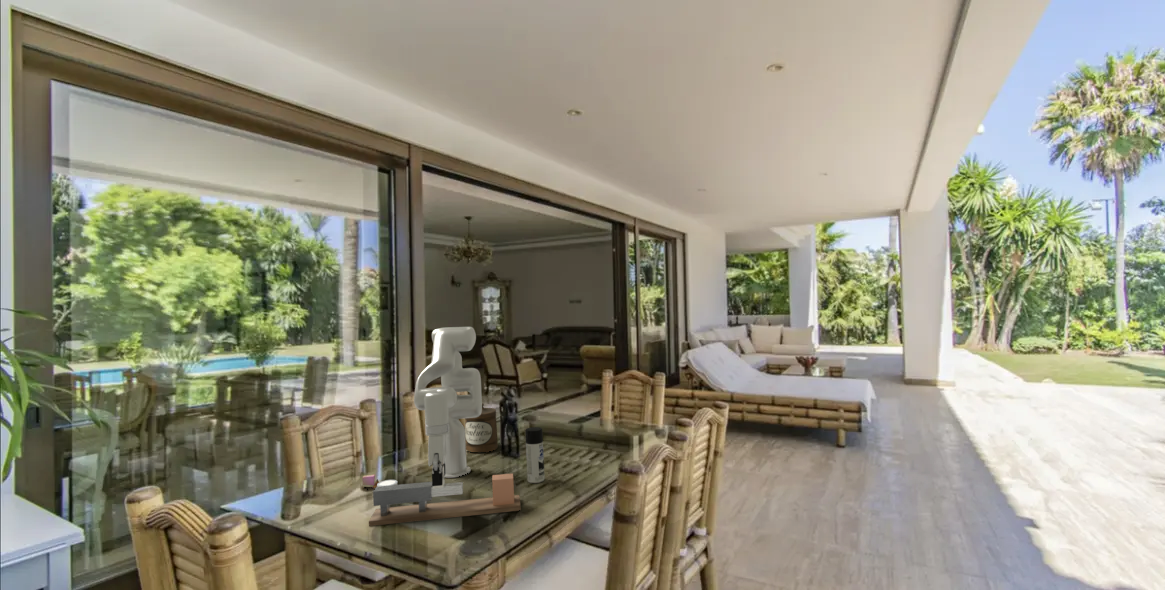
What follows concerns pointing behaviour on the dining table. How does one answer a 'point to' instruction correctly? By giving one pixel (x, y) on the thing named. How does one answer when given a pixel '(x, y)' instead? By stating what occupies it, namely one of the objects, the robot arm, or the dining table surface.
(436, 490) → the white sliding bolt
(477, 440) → the wooden container
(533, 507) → the dining table surface
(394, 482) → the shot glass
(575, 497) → the dining table surface
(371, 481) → the perfume bottle
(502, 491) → the socket
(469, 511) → the base board
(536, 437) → the spray can
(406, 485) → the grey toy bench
